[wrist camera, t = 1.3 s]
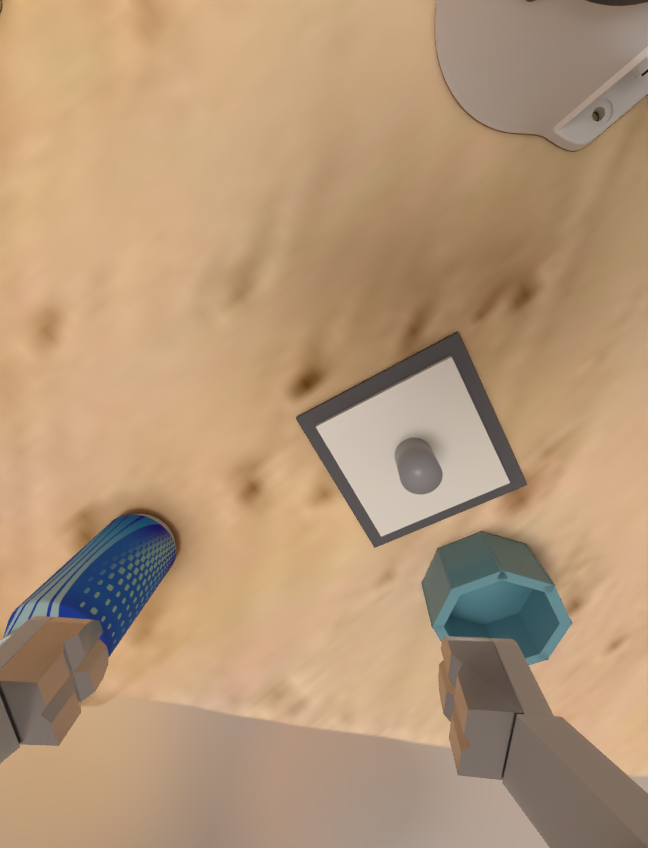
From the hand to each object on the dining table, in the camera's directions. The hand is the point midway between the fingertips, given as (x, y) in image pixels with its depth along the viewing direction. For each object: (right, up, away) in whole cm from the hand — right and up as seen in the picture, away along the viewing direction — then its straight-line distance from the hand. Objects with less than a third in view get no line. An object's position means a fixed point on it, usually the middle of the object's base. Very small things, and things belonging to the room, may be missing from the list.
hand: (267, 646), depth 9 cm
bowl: (+19, -12, +33) cm, 40 cm away
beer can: (-20, -8, +35) cm, 41 cm away
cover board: (+10, +3, +28) cm, 30 cm away
